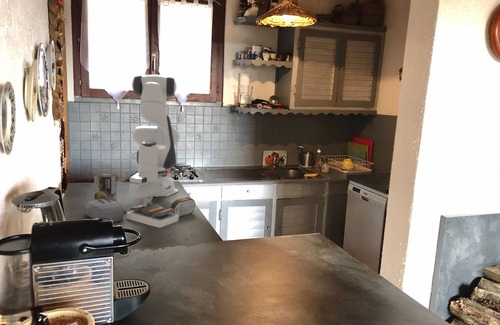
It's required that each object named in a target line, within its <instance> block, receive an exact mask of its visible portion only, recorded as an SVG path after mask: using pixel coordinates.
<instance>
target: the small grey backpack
mask: <svg viewBox="0 0 500 325" xmlns="http://www.w3.org/2000/svg"><path fill="white" fill-rule="evenodd" d="M84 212H85V214H86V216H88V217H89V218H90V219H92V220H93V219H95V218H108V217H111V218H112V220H113V222H112V223H116V222H118V221H119V222H120V221H121V220H123V218H124V215H125V212H124V207H123V206H122V205H121V203H120V202H118V201H117V200H116V201H112V200H108V199H106V198H104V199H96V200H95V199H93V200H89V201H87V202H86V203H85V206H84Z"/></svg>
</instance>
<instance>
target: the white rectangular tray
mask: <svg viewBox="0 0 500 325" xmlns="http://www.w3.org/2000/svg"><path fill="white" fill-rule="evenodd" d="M125 213H126V219H127V220H131V221H134V222H137V223H141V224H144V225H148V226H152V227H155V228H158V229H160V228H164V227H166V226H168V225H171V224H174V223H177V222H179V218H180V217H179V215H178V214H174V213H169V214H166V215H163V216H152V215H147V214H145V213H143V212H141V210H140V211H132V210H130V211H129V210H124V214H125Z"/></svg>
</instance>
